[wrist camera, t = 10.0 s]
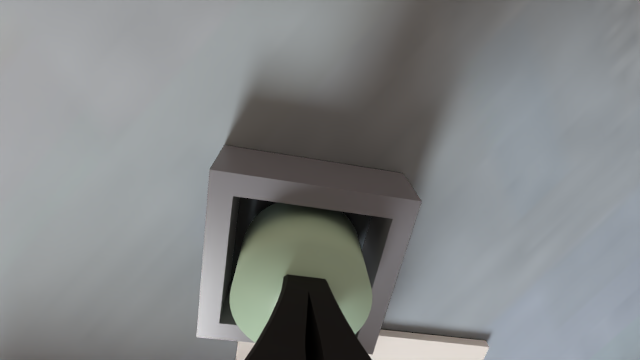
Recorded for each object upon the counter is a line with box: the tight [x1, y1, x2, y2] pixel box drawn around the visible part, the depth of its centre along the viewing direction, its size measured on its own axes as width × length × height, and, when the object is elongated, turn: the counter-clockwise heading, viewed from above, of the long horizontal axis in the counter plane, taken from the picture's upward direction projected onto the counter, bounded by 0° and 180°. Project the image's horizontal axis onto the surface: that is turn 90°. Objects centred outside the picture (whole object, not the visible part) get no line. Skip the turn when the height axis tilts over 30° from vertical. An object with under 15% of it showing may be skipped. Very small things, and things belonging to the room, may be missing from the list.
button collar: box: [196, 145, 422, 355], centre depth 15 cm, size 7×7×2 cm
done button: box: [230, 202, 372, 343], centre depth 14 cm, size 5×5×3 cm
